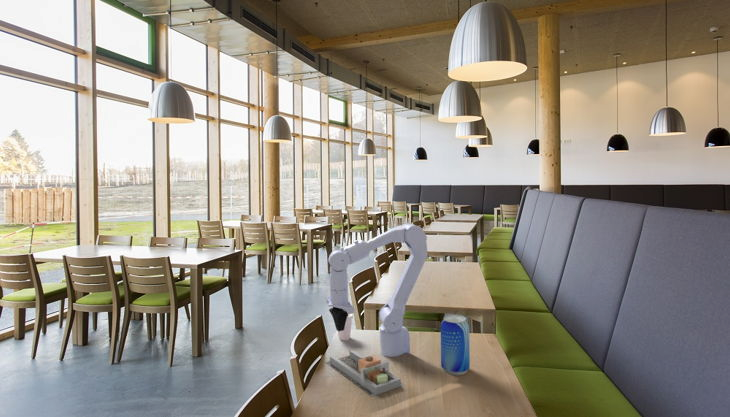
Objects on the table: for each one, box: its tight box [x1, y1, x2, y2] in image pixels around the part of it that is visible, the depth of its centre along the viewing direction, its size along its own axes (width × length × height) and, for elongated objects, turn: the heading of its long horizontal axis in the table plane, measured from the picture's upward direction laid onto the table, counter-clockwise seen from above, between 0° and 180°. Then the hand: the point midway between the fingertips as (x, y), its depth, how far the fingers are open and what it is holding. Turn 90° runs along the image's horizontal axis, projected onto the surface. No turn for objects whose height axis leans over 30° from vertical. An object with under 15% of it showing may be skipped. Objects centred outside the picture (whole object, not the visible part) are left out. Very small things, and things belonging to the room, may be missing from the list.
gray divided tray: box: [325, 349, 405, 398], centre depth 129 cm, size 11×26×3 cm, turn 33°
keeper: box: [357, 354, 382, 385], centre depth 124 cm, size 5×6×6 cm
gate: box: [360, 360, 390, 387], centre depth 123 cm, size 9×1×6 cm, turn 123°
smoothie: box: [337, 313, 354, 341], centre depth 156 cm, size 6×6×14 cm
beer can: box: [440, 314, 471, 376], centre depth 131 cm, size 8×8×16 cm
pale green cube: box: [377, 373, 388, 385], centre depth 120 cm, size 3×3×3 cm
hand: (340, 330), depth 140 cm, fingers closed
